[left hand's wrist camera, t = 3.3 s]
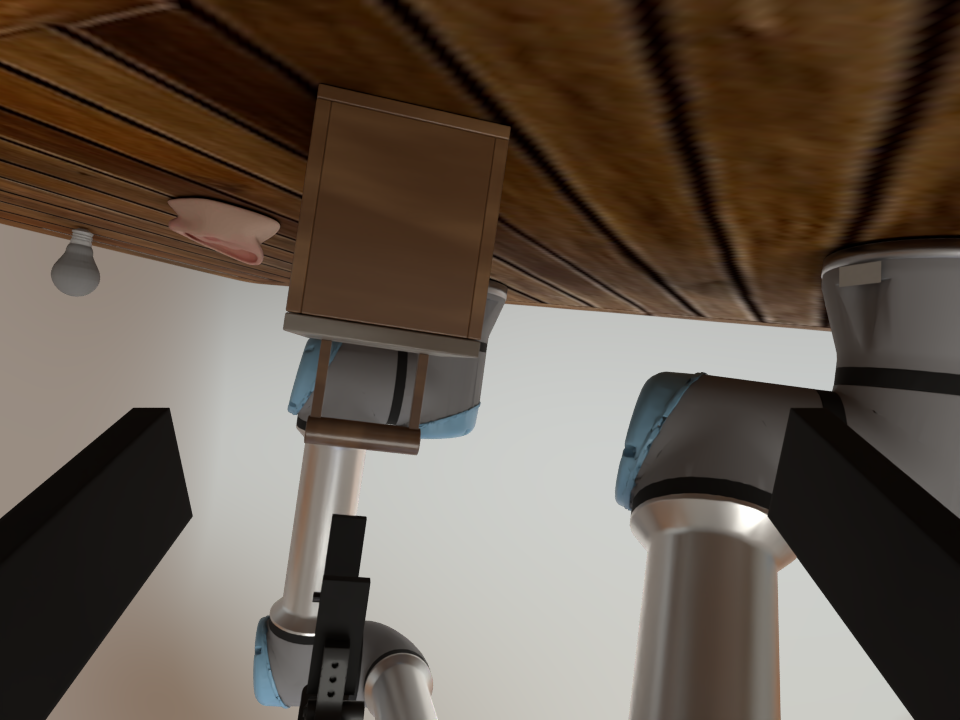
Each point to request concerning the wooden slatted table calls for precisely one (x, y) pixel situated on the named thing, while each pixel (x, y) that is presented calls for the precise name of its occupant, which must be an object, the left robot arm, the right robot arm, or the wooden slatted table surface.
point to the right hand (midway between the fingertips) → (348, 541)
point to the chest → (397, 215)
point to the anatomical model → (223, 227)
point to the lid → (380, 337)
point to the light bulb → (77, 266)
